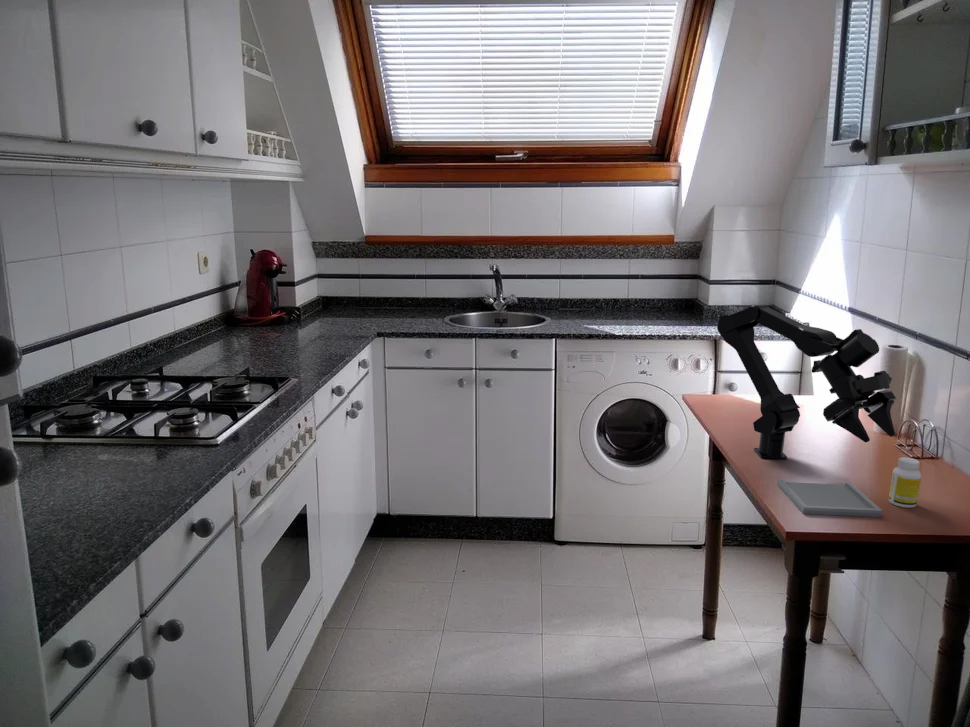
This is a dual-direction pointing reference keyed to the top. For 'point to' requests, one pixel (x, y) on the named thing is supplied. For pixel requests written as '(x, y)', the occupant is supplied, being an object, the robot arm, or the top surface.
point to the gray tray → (829, 499)
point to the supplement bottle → (905, 483)
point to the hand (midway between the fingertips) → (880, 438)
